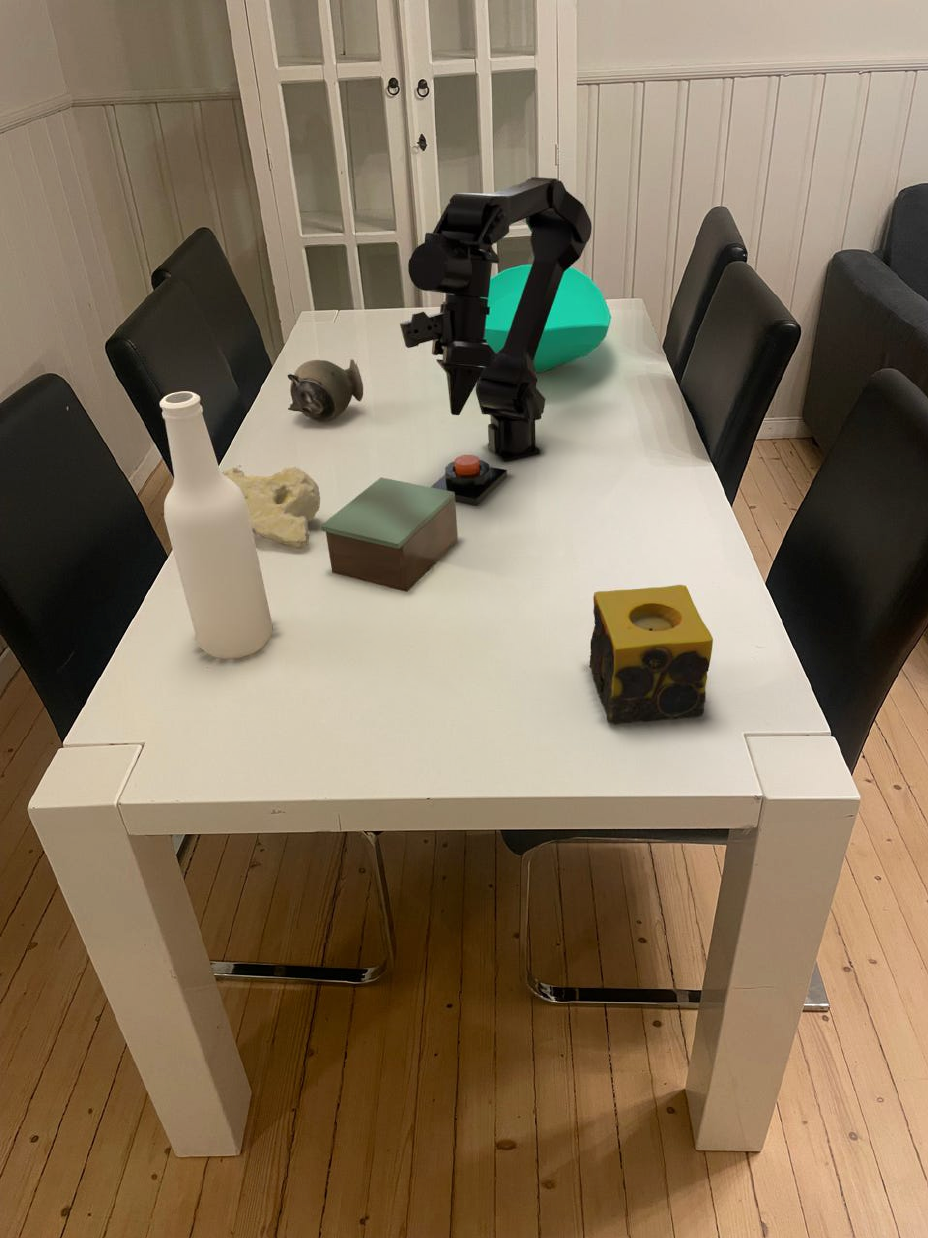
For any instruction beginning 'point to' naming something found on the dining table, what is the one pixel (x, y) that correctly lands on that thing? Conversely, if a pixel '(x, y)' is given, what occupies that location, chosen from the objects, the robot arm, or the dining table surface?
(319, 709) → the dining table surface
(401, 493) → the sage green panel
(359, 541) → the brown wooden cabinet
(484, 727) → the dining table surface
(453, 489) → the black button base
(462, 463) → the button
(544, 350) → the table top decor
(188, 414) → the alcohol
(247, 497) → the animal skull
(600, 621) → the candle
